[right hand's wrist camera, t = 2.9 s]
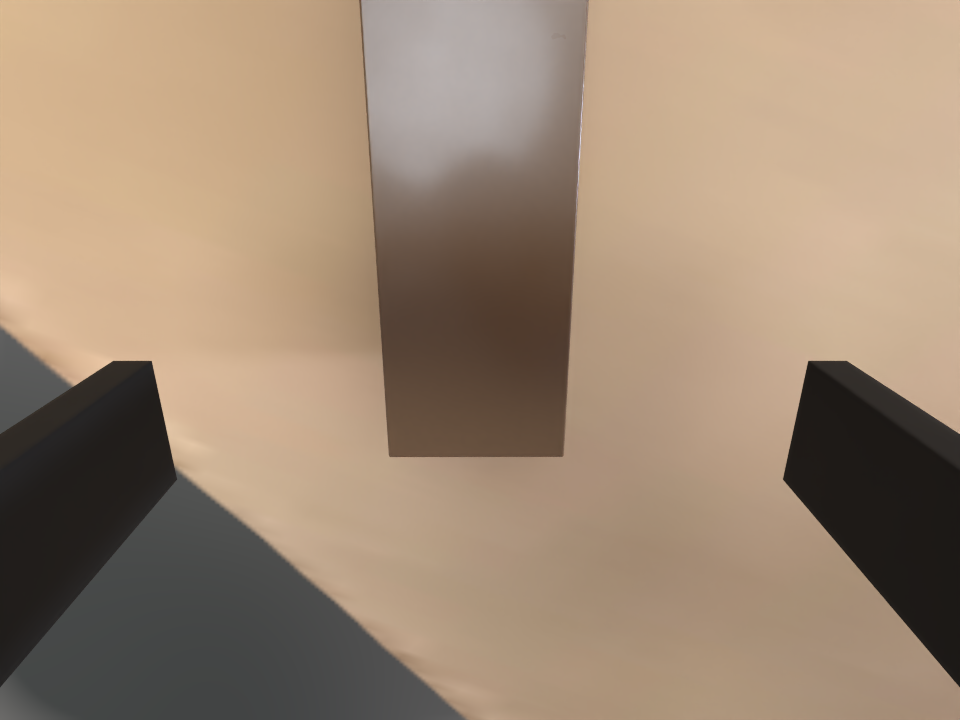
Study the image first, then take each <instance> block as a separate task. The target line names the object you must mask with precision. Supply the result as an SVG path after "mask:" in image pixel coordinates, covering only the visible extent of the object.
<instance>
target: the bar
mask: <svg viewBox="0 0 960 720" xmlns="http://www.w3.org/2000/svg"><path fill="white" fill-rule="evenodd" d="M588 1H589V0H359V2H360V17H361V33H362V48H363V63H364V79H365V94H366V109H367V125H368V140H369V156H370V171H371V186H372V202H373V217H374V233H375V248H376V263H377V279H378V294H379V309H380V325H381V340H382V356H383V371H384V386H385V402H386V417H387V433H388V448H389V456H390V457H562V456H563V455H564V439H565V420H566V402H567V384H568V366H569V348H570V329H571V311H572V293H573V275H574V256H575V238H576V220H577V202H578V183H579V165H580V147H581V129H582V110H583V92H584V74H585V56H586V37H587V19H588Z"/></svg>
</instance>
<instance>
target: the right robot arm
mask: <svg viewBox="0 0 960 720" xmlns="http://www.w3.org/2000/svg"><path fill="white" fill-rule="evenodd" d="M176 480H177V477H176V473H175V468H174V463H173V459H172V454H171V449H170V445H169V440H168V435H167V431H166V426H165V421H164V417H163V412H162V407H161V403H160V398H159V393H158V389H157V384H156V379H155V374H154V370H153V365H152V361H113V362H111V363H109V364H108V365H106V366H105V367H103V368H102V369H100V370H99V371H97V372H96V373H94V374H92V375H91V376H89V377H88V378H86V379H85V380H83V381H82V382H80V383H79V384H77V385H76V386H74V387H72V388H71V389H69V390H68V391H66V392H65V393H63V394H62V395H60V396H59V397H57V398H56V399H54V400H52V401H51V402H49V403H48V404H46V405H45V406H43V407H42V408H40V409H38V410H37V411H35V412H34V413H32V414H31V415H29V416H28V417H26V418H25V419H23V420H22V421H20V422H18V423H17V424H15V425H14V426H12V427H11V428H9V429H8V430H6V431H5V432H3V433H1V434H0V687H1V686H2V684H3V683H4V682H5V681H6V680H7V678H8V677H9V676H10V675H11V674H12V673H13V672H14V670H15V669H16V668H17V667H18V666H19V664H20V663H21V662H22V661H23V660H24V659H25V657H26V656H27V655H28V654H29V653H30V651H31V650H32V649H33V648H34V647H35V646H36V644H37V643H38V642H39V641H40V640H41V639H42V637H43V636H44V635H45V634H46V633H47V632H48V630H49V629H50V628H51V627H52V626H53V624H54V623H55V622H56V621H57V620H58V619H59V617H60V616H61V615H62V614H63V613H64V612H65V610H66V609H67V608H68V607H69V606H70V605H71V603H72V602H73V601H74V600H75V599H76V597H77V596H78V595H79V594H80V593H81V592H82V590H83V589H84V588H85V587H86V586H87V585H88V583H89V582H90V581H91V580H92V579H93V578H94V576H95V575H96V574H97V573H98V572H99V570H100V569H101V568H102V567H103V566H104V564H105V563H106V562H107V561H108V560H109V559H110V557H111V556H112V555H113V554H114V553H115V552H116V550H117V549H118V548H119V547H120V546H121V545H122V543H123V542H124V541H125V540H126V539H127V538H128V536H129V535H130V534H131V533H132V532H133V530H134V529H135V528H136V527H137V526H138V525H139V523H140V522H141V521H142V520H143V519H144V518H145V516H146V515H147V514H148V513H149V512H150V511H151V509H152V508H153V507H154V506H155V505H156V503H157V502H158V501H159V500H160V499H161V498H162V496H163V495H164V494H165V493H166V492H167V490H168V489H169V488H170V487H171V486H172V485H173V483H174V482H175V481H176ZM783 480H784V481H785V482H786V484H787V485H788V486H789V487H790V488H791V489H792V491H793V492H794V493H795V494H796V495H797V496H798V498H799V499H800V500H801V501H802V502H803V503H804V505H805V506H806V507H807V508H808V509H809V511H810V512H811V513H812V514H813V515H814V516H815V518H816V519H817V520H818V521H819V522H820V523H821V525H822V526H823V527H824V528H825V529H826V531H827V532H828V533H829V534H830V535H831V536H832V538H833V539H834V540H835V541H836V542H837V543H838V545H839V546H840V547H841V548H842V549H843V550H844V552H845V553H846V554H847V555H848V556H849V558H850V559H851V560H852V561H853V562H854V563H855V565H856V566H857V567H858V568H859V569H860V570H861V572H862V573H863V574H864V575H865V576H866V578H867V579H868V580H869V581H870V582H871V583H872V585H873V586H874V587H875V588H876V589H877V590H878V592H879V593H880V594H881V595H882V596H883V597H884V599H885V600H886V601H887V602H888V603H889V605H890V606H891V607H892V608H893V609H894V610H895V612H896V613H897V614H898V615H899V616H900V617H901V619H902V620H903V621H904V622H905V623H906V625H907V626H908V627H909V628H910V629H911V630H912V632H913V633H914V634H915V635H916V636H917V637H918V639H919V640H920V641H921V642H922V643H923V645H924V646H925V647H926V648H927V649H928V650H929V652H930V653H931V654H932V655H933V656H934V657H935V659H936V660H937V661H938V662H939V663H940V664H941V666H942V667H943V668H944V669H945V670H946V672H947V673H948V674H949V675H950V676H951V677H952V679H953V680H954V681H955V682H956V683H957V684H958V686H959V687H960V434H959V433H957V432H955V431H954V430H952V429H951V428H949V427H948V426H946V425H945V424H943V423H942V422H940V421H938V420H937V419H935V418H934V417H932V416H931V415H929V414H928V413H926V412H925V411H923V410H922V409H920V408H918V407H917V406H915V405H914V404H912V403H911V402H909V401H908V400H906V399H905V398H903V397H901V396H900V395H898V394H897V393H895V392H894V391H892V390H891V389H889V388H888V387H886V386H884V385H883V384H881V383H880V382H878V381H877V380H875V379H874V378H872V377H871V376H869V375H868V374H866V373H864V372H863V371H861V370H860V369H858V368H857V367H855V366H854V365H852V364H851V363H849V362H847V361H808V365H807V370H806V374H805V379H804V384H803V389H802V393H801V398H800V403H799V407H798V412H797V417H796V421H795V426H794V431H793V435H792V440H791V445H790V449H789V454H788V459H787V463H786V468H785V473H784V477H783Z"/></svg>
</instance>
